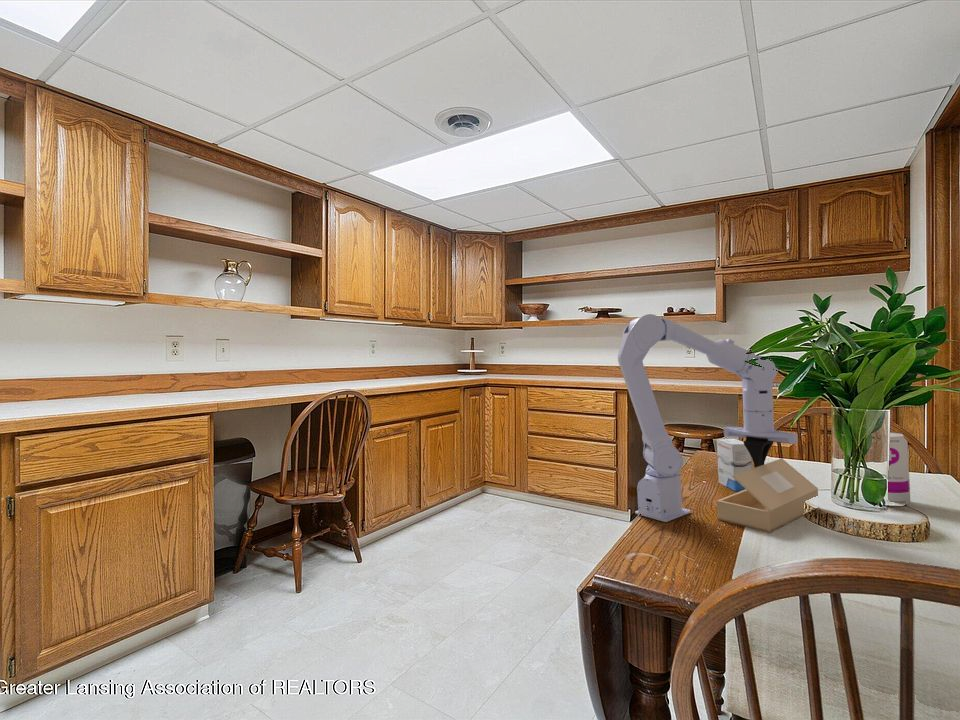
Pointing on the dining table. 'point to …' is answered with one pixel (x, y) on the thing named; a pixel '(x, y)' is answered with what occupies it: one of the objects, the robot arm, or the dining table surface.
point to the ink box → (732, 462)
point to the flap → (775, 484)
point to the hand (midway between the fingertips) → (760, 472)
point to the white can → (898, 470)
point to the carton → (759, 511)
